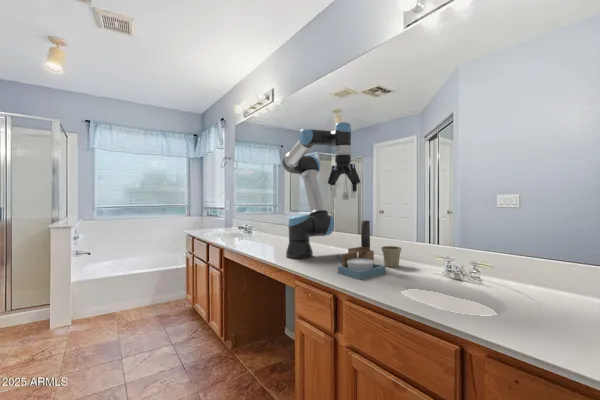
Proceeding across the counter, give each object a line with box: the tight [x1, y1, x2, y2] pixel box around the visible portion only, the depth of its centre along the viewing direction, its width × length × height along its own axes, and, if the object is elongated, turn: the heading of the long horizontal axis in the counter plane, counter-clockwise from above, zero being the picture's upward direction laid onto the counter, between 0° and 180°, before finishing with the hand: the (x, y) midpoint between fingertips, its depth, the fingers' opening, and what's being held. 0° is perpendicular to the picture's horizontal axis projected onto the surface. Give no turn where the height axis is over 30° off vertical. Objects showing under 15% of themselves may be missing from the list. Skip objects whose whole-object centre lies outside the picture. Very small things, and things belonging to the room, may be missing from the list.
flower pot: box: [380, 245, 403, 268], centre depth 137 cm, size 9×9×9 cm
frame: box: [337, 263, 387, 280], centre depth 125 cm, size 13×16×3 cm
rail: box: [336, 253, 358, 262], centre depth 145 cm, size 19×3×3 cm, turn 34°
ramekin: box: [347, 258, 375, 271], centre depth 126 cm, size 11×11×5 cm
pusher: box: [341, 220, 375, 268], centre depth 134 cm, size 6×16×21 cm, turn 124°
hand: (343, 198), depth 144 cm, fingers open, 13 cm apart
